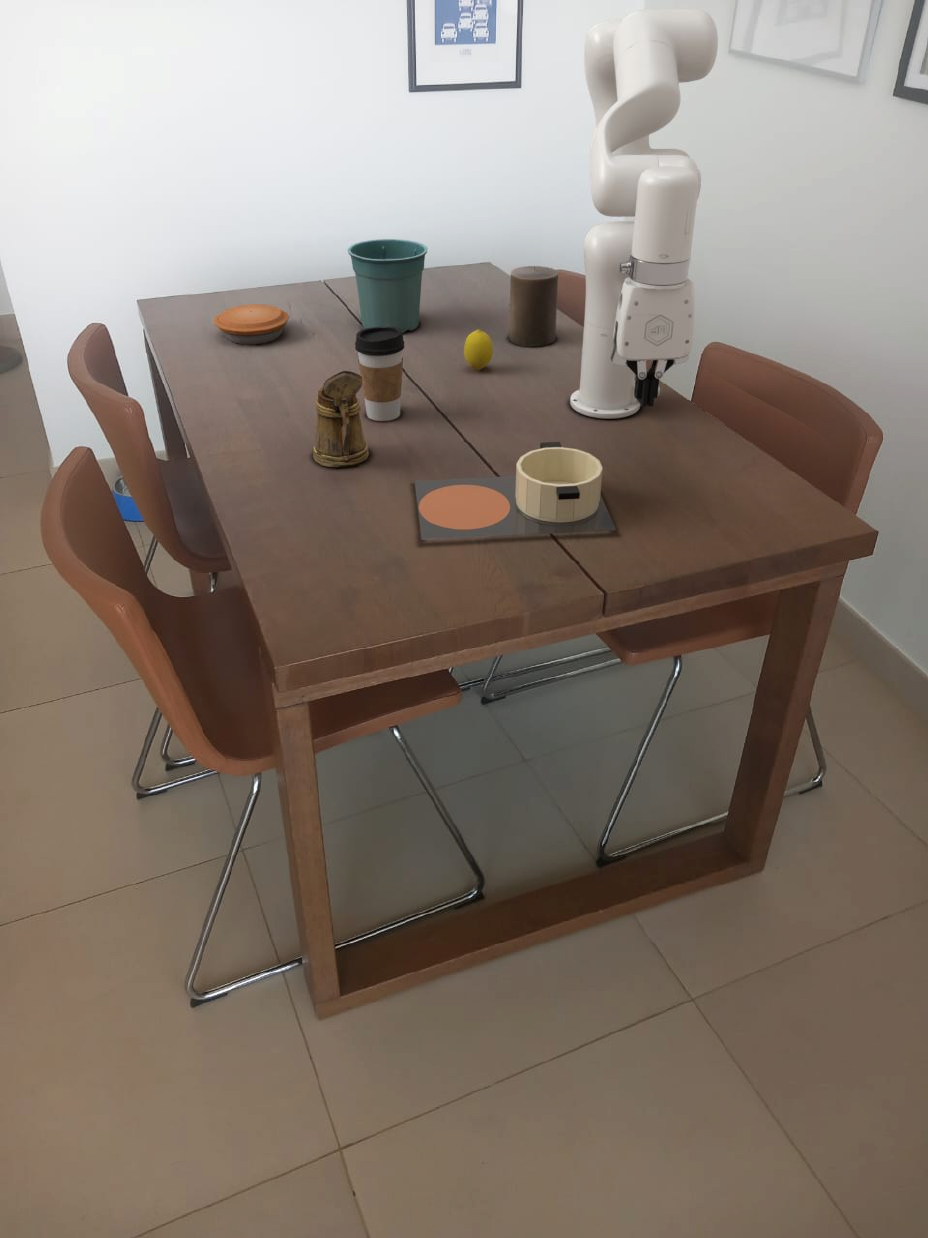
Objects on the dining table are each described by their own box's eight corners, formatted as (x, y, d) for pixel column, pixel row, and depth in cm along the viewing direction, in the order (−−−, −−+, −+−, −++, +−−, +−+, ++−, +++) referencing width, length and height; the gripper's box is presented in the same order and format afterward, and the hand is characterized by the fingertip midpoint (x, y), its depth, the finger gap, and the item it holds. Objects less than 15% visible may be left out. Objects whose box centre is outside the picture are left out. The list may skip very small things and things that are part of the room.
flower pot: (385, 307, 224) (382, 233, 214) (444, 322, 216) (443, 245, 207) (337, 328, 213) (331, 251, 204) (396, 344, 205) (393, 264, 196)
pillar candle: (541, 350, 202) (544, 275, 194) (500, 341, 207) (501, 267, 198) (563, 335, 209) (567, 263, 200) (523, 327, 213) (525, 255, 205)
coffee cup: (400, 426, 173) (397, 342, 164) (353, 422, 174) (347, 338, 166) (412, 406, 180) (409, 324, 171) (367, 403, 181) (362, 321, 172)
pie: (306, 330, 212) (303, 307, 209) (256, 353, 201) (253, 329, 198) (251, 317, 219) (248, 295, 216) (200, 339, 208) (197, 315, 205)
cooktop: (590, 476, 158) (591, 471, 157) (615, 534, 143) (616, 529, 143) (414, 484, 156) (414, 480, 155) (421, 544, 141) (421, 539, 141)
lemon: (459, 372, 193) (459, 332, 188) (470, 363, 197) (470, 323, 192) (486, 377, 191) (486, 336, 186) (496, 366, 195) (497, 326, 190)
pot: (587, 474, 157) (590, 439, 153) (609, 527, 143) (613, 490, 140) (509, 478, 156) (510, 443, 152) (524, 531, 142) (525, 494, 139)
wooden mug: (324, 484, 156) (313, 374, 145) (309, 447, 166) (298, 342, 156) (379, 476, 158) (373, 367, 147) (361, 441, 168) (354, 336, 158)
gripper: (609, 280, 127) (598, 415, 137) (723, 276, 128) (704, 411, 138) (597, 264, 133) (587, 394, 143) (706, 260, 134) (689, 390, 145)
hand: (644, 402), depth 141 cm, fingers closed
